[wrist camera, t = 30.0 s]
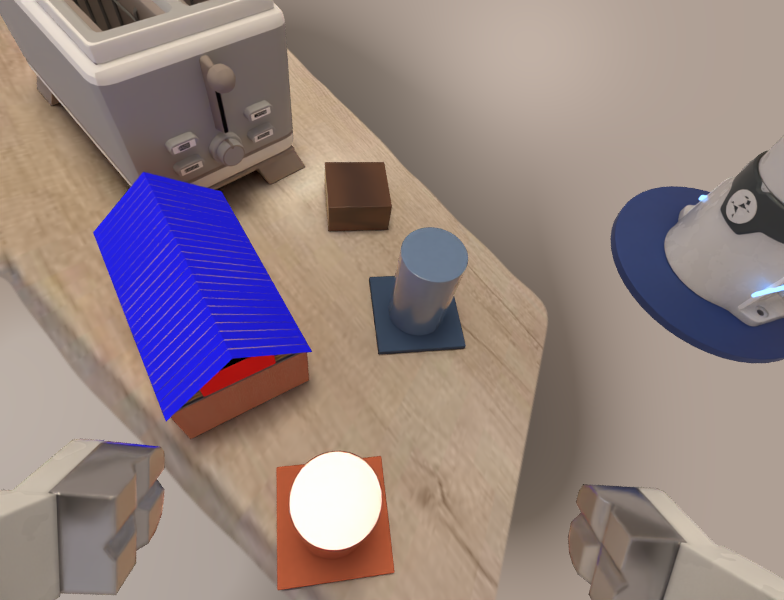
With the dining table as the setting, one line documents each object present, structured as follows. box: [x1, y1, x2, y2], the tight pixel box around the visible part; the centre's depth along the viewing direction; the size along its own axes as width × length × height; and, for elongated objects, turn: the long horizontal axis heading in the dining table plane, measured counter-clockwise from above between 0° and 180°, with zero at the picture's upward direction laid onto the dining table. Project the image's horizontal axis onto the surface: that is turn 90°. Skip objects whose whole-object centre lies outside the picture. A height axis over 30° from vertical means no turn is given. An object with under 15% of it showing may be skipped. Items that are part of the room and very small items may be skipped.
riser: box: [325, 162, 392, 231], centre depth 55 cm, size 7×7×4 cm
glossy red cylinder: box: [288, 451, 383, 560], centre depth 34 cm, size 6×6×10 cm
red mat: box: [277, 456, 394, 590], centre depth 39 cm, size 9×9×1 cm
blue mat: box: [369, 276, 465, 354], centre depth 50 cm, size 9×9×1 cm
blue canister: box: [388, 227, 468, 336], centre depth 46 cm, size 6×6×10 cm
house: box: [93, 172, 312, 439], centre depth 42 cm, size 12×20×12 cm, turn 32°
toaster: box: [0, 0, 305, 190], centre depth 51 cm, size 19×34×20 cm, turn 43°
